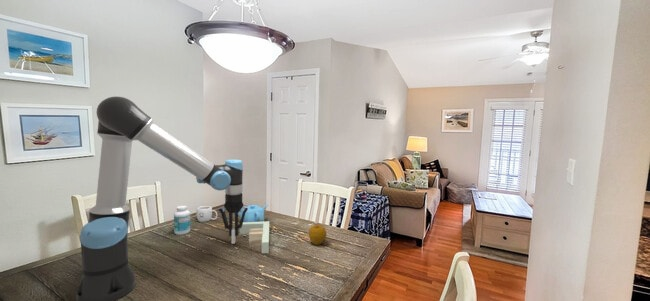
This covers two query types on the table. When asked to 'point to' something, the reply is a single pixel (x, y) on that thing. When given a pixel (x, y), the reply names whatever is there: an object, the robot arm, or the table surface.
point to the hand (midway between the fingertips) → (233, 242)
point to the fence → (258, 225)
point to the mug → (205, 213)
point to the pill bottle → (181, 220)
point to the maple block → (255, 237)
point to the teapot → (253, 213)
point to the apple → (317, 234)
